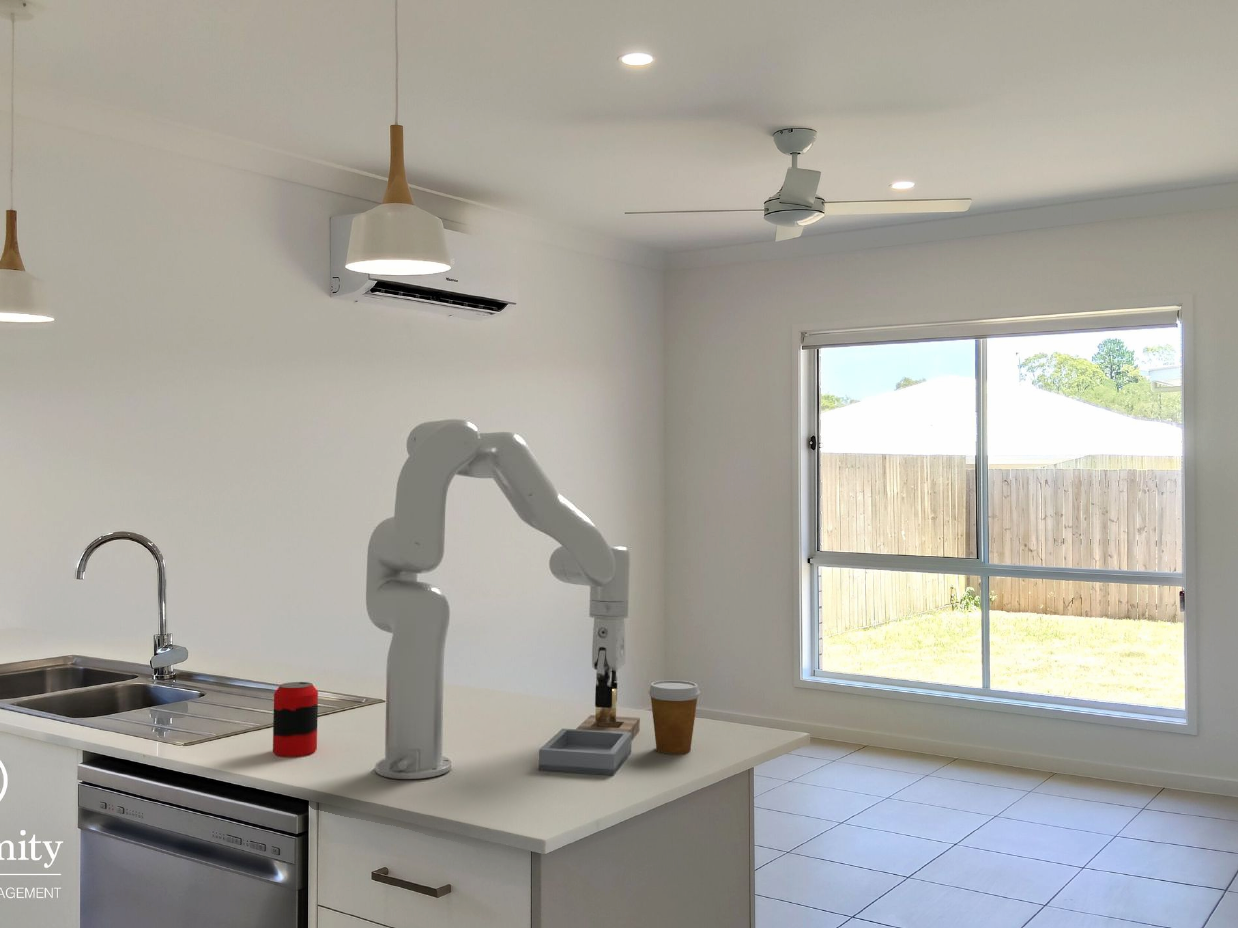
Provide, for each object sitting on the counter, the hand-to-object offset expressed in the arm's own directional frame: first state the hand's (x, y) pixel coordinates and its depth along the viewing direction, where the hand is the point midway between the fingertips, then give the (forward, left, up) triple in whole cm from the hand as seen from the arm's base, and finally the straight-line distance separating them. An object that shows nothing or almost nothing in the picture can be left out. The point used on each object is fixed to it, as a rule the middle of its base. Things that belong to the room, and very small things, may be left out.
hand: (606, 703), depth 201 cm
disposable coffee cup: (-6, -14, -7) cm, 17 cm away
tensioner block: (0, 0, -6) cm, 6 cm away
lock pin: (0, 0, -3) cm, 3 cm away
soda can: (-25, +52, -7) cm, 58 cm away
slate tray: (-18, 0, -6) cm, 19 cm away
